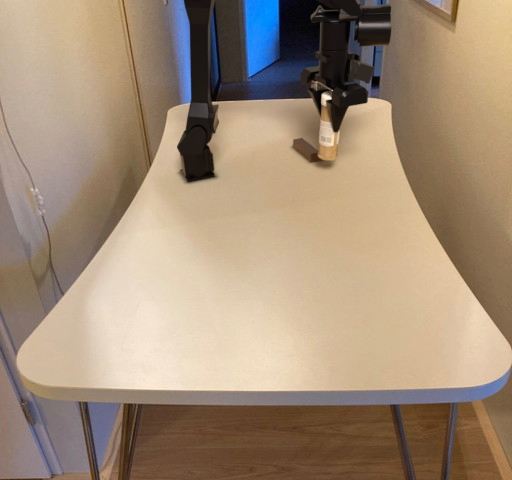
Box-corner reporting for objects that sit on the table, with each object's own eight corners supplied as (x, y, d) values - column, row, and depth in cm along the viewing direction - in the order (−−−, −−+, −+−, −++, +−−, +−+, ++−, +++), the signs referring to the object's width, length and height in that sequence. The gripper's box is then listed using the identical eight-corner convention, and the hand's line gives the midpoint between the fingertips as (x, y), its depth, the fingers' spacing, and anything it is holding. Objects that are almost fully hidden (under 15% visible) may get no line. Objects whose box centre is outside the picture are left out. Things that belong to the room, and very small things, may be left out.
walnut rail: (310, 162, 128) (311, 153, 126) (293, 147, 135) (293, 139, 134) (320, 160, 128) (320, 151, 127) (301, 145, 135) (302, 137, 134)
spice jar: (341, 156, 121) (348, 93, 112) (328, 163, 119) (334, 99, 109) (326, 150, 123) (331, 88, 114) (312, 156, 121) (317, 93, 112)
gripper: (396, 52, 102) (387, 136, 112) (347, 32, 115) (343, 108, 125) (343, 60, 99) (338, 146, 109) (299, 39, 112) (298, 117, 122)
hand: (330, 128), depth 116 cm, fingers closed on spice jar, 4 cm apart
